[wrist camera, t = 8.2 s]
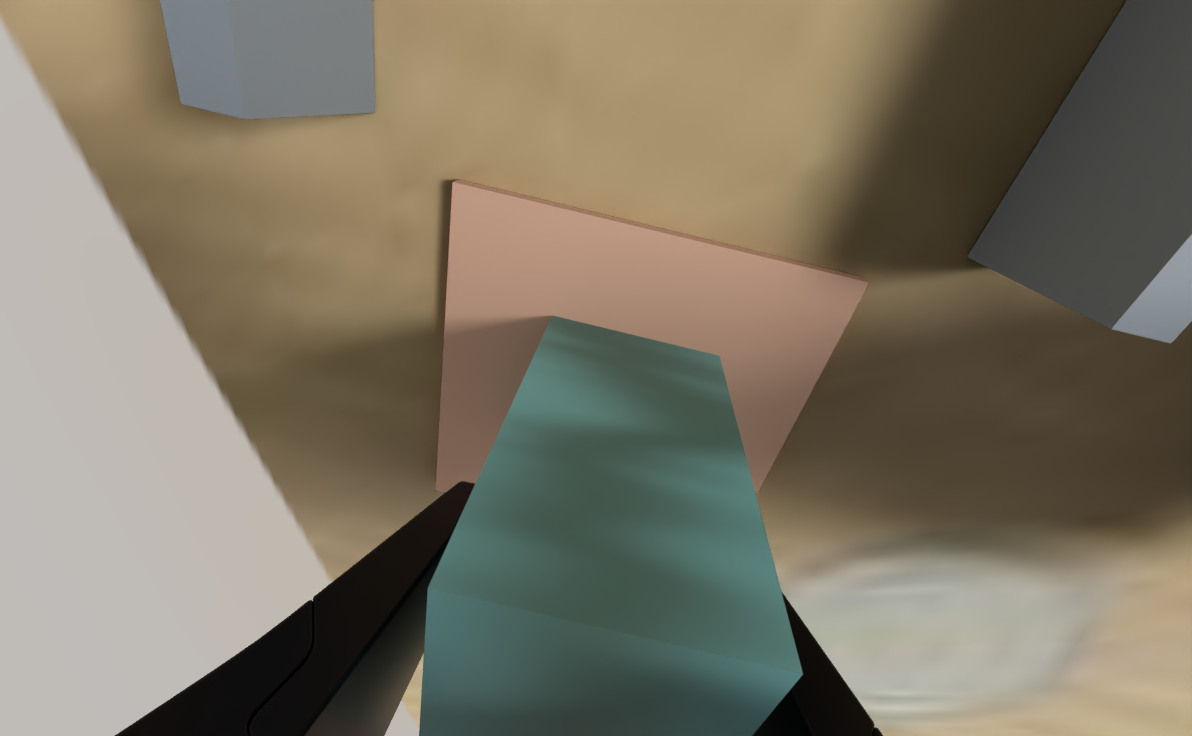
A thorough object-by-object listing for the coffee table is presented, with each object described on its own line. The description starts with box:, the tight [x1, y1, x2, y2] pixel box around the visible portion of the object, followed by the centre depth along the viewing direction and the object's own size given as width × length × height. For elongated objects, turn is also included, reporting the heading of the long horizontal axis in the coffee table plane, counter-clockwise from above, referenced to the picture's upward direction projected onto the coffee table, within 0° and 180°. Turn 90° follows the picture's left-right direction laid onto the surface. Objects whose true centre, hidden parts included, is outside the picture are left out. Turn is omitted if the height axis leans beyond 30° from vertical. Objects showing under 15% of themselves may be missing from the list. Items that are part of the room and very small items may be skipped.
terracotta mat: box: [435, 179, 869, 495], centre depth 14 cm, size 10×10×1 cm
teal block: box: [419, 315, 803, 736], centre depth 10 cm, size 4×4×8 cm
